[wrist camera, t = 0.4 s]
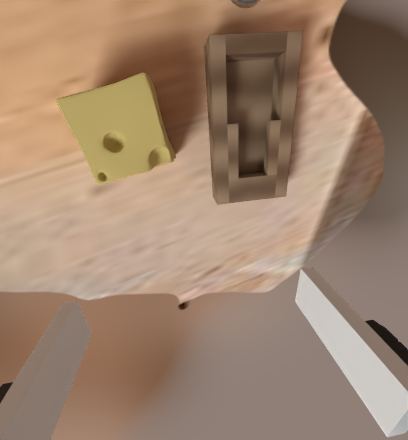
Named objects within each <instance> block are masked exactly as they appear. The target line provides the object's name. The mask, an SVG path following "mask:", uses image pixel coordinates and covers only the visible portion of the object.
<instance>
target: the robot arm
mask: <svg viewBox="0 0 408 440" xmlns="http://www.w3.org/2000/svg"><path fill="white" fill-rule="evenodd" d="M295 302H296V303H297V305H298V306H299V308H300V309H301V311H302V312H303V314H304V315H305V316H306V318H307V319H308V321H309V322H310V324H311V325H312V327H313V328H314V330H315V331H316V333H317V334H318V336H319V337H320V339H321V340H322V342H323V343H324V345H325V346H326V348H327V349H328V350H329V352H330V353H331V355H332V356H333V358H334V359H335V361H336V362H337V364H338V365H339V367H340V368H341V370H342V371H343V373H344V374H345V376H346V377H347V379H348V380H349V382H350V383H351V384H352V386H353V387H354V389H355V390H356V392H357V393H358V395H359V396H360V398H361V399H362V401H363V402H364V404H365V405H366V407H367V408H368V409H369V411H370V412H371V414H372V415H373V417H374V418H375V420H376V421H377V423H378V424H379V426H380V427H381V429H382V430H383V432H384V433H385V435H386V436H387V437H390V436H395V435H399V434H403V433H406V432H407V430H408V350H407V348H406V347H405V346H404V345H403V344H402V343H401V342H398V339H397V338H396V337H394V336H393V335H392V334H391V333H390V332H389V331H388V330H387V329H386V328H385V327H383V326H381V325H380V324H378V323H377V322H375V321H374V320H369V321H364V320H363V319H362V318H361V317H360V316H359V315H358V314H357V313H356V311H355V310H354V309H353V308H352V307H351V306H350V305H349V304H348V303H347V302H346V301H345V300H344V299H343V298H342V297H341V296H340V295H339V294H338V293H337V292H336V291H335V290H334V289H333V288H332V286H331V285H330V284H329V283H328V282H327V281H326V280H325V279H324V278H323V277H322V276H321V275H320V274H319V273H318V272H317V271H316V270H315V269H314V268H313V267H310V268H302V269H301V272H300V278H299V283H298V288H297V294H296V300H295ZM91 335H92V332H91V330H90V327H89V325H88V323H87V321H86V319H85V316H84V314H83V312H82V310H81V308H80V305H79V303H78V301H71V302H64V303H62V305H61V306H60V308H59V310H58V311H57V313H56V314H55V316H54V318H53V319H52V321H51V322H50V324H49V326H48V327H47V329H46V331H45V332H44V334H43V335H42V337H41V339H40V340H39V342H38V343H37V345H36V347H35V348H34V350H33V352H32V353H31V355H30V356H29V358H28V360H27V361H26V363H25V364H24V366H23V368H22V369H21V371H20V372H19V374H18V376H17V377H16V379H15V381H14V382H12V383H6V384H3V385H2V386H1V387H0V440H51V437H52V435H53V433H54V430H55V427H56V425H57V422H58V419H59V417H60V415H61V412H62V409H63V407H64V404H65V402H66V399H67V397H68V394H69V391H70V389H71V386H72V384H73V381H74V379H75V376H76V374H77V371H78V368H79V366H80V363H81V361H82V358H83V356H84V353H85V350H86V348H87V345H88V343H89V340H90V338H91Z"/></svg>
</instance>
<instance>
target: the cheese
mask: <svg viewBox="0 0 408 440" xmlns="http://www.w3.org/2000/svg"><path fill="white" fill-rule="evenodd" d="M56 101H57V103H58V106H59V108H60V110H61V112H62V114H63V116H64V118H65V120H66V122H67V124H68V126H69V128H70V129H71V131H72V133H73V135H74V137H75V139H76V140H77V142H78V144H79V146H80V148H81V150H82V152H83V154H84V156H85V158H86V160H87V162H88V165H89V167H90V169H91V171H92V174H93V176H94V178H95V181H96V183H97V184H98V185H102V184H105V183H108V182H112V181H115V180H118V179H121V178H125V177H128V176H132V175H135V174H139V173H144V172H147V171H150V170H151V169H153V168H154V167H155V166H158V165H161V164H166V163H170V162H173V161H174V159H175V158H176V155H175V152H174V150H173V148H172V146H171V143H170V141H169V139H168V136H167V133H166V129H165V126H164V123H163V119H162V116H161V113H160V108H159V104H158V98H157V94H156V90H155V87H154V85H153V82H152V79H151V77H150V76H149V75H148V74H147V73H145V72H141V73H138V74H136V75H133V76H131V77H128V78H126V79H123V80H121V81H118V82H116V83H113V84H110V85H106V86H103V87H99V88H96V89H92V90H88V91H84V92H81V93H77V94H73V95H69V96H66V97H62V98H58V99H56Z"/></svg>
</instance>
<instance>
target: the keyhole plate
mask: <svg viewBox="0 0 408 440" xmlns="http://www.w3.org/2000/svg"><path fill="white" fill-rule="evenodd" d="M302 36H303V31H284V32H263V33H241V34H220V35H209V37H208V39H207V42H206V44H205V47H204V52H205V69H206V86H207V103H208V120H209V137H210V154H211V171H212V187H213V197H214V199H215V201H216V203H217V204H226V203H234V202H243V201H251V200H260V199H268V198H277V197H285V196H286V192H287V183H288V173H289V163H290V153H291V143H292V134H293V124H294V114H295V104H296V94H297V85H298V75H299V65H300V55H301V45H302Z"/></svg>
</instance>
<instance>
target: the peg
mask: <svg viewBox="0 0 408 440" xmlns="http://www.w3.org/2000/svg"><path fill="white" fill-rule="evenodd" d="M231 1H232V2H233V3H234V4H235V5H237V6H239V7H241V8H249V7H252V6H254V5H256V4H257V3H258V2H259V1H260V0H231Z"/></svg>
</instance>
